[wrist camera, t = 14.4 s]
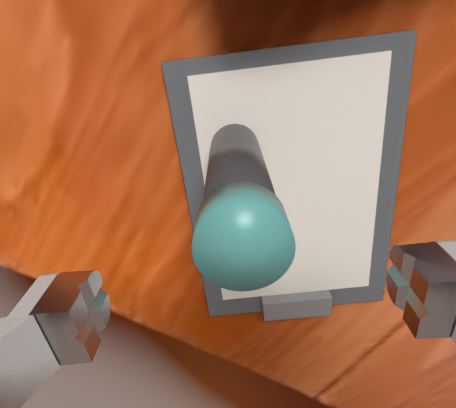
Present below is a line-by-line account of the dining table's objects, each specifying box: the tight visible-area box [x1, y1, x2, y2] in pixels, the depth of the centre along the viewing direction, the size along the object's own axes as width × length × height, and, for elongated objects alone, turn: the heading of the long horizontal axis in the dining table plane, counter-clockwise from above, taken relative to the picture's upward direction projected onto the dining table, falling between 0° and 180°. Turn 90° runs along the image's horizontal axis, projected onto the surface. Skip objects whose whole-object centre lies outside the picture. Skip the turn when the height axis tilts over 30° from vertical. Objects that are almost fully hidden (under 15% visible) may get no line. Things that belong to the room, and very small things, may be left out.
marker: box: [192, 124, 296, 291], centre depth 17 cm, size 4×4×13 cm
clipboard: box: [161, 30, 417, 321], centre depth 25 cm, size 22×16×2 cm
